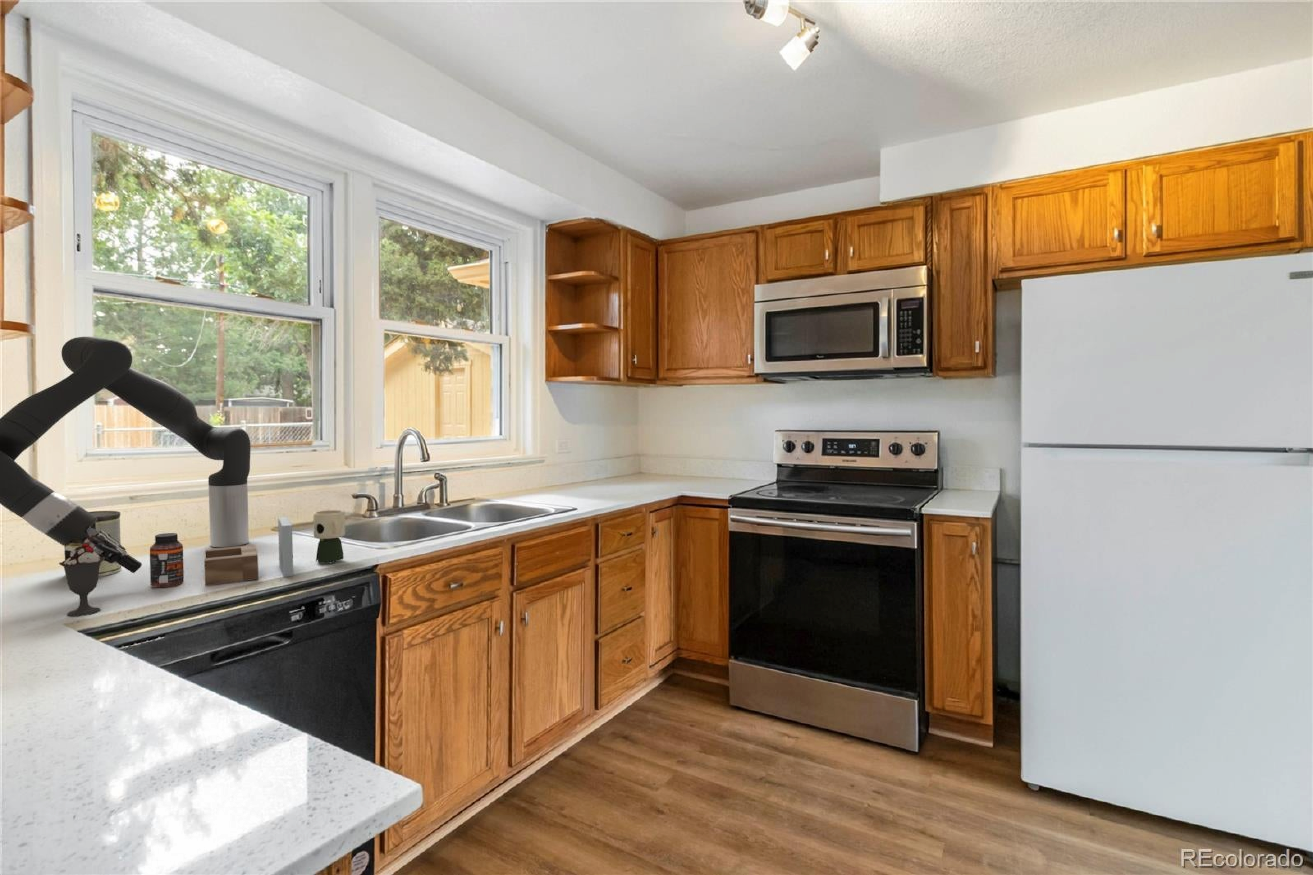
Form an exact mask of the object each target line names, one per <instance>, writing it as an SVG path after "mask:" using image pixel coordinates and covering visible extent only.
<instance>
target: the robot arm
mask: <svg viewBox="0 0 1313 875" xmlns="http://www.w3.org/2000/svg"><path fill="white" fill-rule="evenodd" d="M61 359H62V361H63V363H64V365H65V367H67V368H68V369H69V371H71V372H72V373H71V374H70V375H69V376H67V377H65V378H63V379H61V380H60V381H58V382H56V383H55V384H53V385H51V386H49V387H46V388H45V389H43V390H40V391H38V392H36V393H34V394H32V395H30V396H28V397H26V398H25V399H23V400H21V401H20V402H18V403H17V404H16V405H14V406H13V407H12V408H10V409H9V410H8V411H7V412H6V413H5V414H4V415H2V416H1V417H0V505H1V506H3V507H4V508H5V509H7V510H8V511H10V513H14V514H15V515H16V516H17V517H20V518H22V520H24V521H26V522H27V524H29V525H30V526H31V527H33V528H34V529H36V530H38V531H40V532H41V533H43V534H44V535H45V536H47V537H48V538H50V539H51V540H53V541H54V542H57V543H58V544H59V545H62V546H63V547H64V546H68V545H69V544H70V543H72V542H73V541H74V540H76V541H78V542H79V543H80V544H84V543H86V542H87V540H88V539H89V538H90V537H91V535H94V536H95V537H94V538H93V537H91V538H92V539H91V538H90V539H91V540H90V539H89V540H90V542H89V540H88V542H89V545H90V546H91V547H93V548H94V550H93V551H94V552H96V553H97V554H98V555H99V557H105V559H104V561H107V562H109V563H116V564H117V563H118V564H119V565H121V568H124V569H125V570H127V571H129V572H130V573H136V572H137V571H138V570H140V568H142V566H143V564H142V562H140V561H139V560H138V559H136V558H134V557H133V556H131V555H130V554H128V551H127V549H126V548H125V546H123V545H122V544H121V545H120V544H119V543H118V542H117V541H116V540H115V539H114V538H113V537H112V536H110V534H107V533H105V532H103V531H102V530H100V531H97V530H95V529H93V528H91V525H92V524H94V523H95V522H96V521H97V517H95V516H94V515H92V514H91V513H89V512H90V511H88V510H86V509H84V508H83V507H82V506H80V505H78V504H77V503H76V502H74V501H73V500H71V499H70V498H68V497H66V496H64V495H62V494H60V493H58V492H57V491H55V490H53V489H51V487H48V486H47V485H45V484H44V483H42V482H41V481H40V480H38V479H35V478H34V477H33V476H31V475H30V474H29V473H28V472H27V471H26V470H25V469H24V468H23V467H22V466H21V465H20V464H18V463H17V462H16V460H17V459H18V457H19V456H20V455H21V454H22V453H23V452H25V451H26V450H27V449H28V448H30V447H31V446H32V445H34V444H35V443H36V442H37V441H38V440H40V439H41V437H42V436H43V435H45V434H46V433H47V432H48V431H49V430H50V429H51V428H52V427H53V426H54V425H56V424H57V423H58V422H59V421H60V420H61V419H63V418H64V417H65V416H66V415H68V414H69V413H71V411H73V410H74V409H76V408H77V407H78V406H80V405H81V404H83V403H84V402H86V401H87V400H89V399H90V398H92V397H93V396H94V395H96V394H97V393H99V392H100V391H101V390H103V389H104V390H107V391H109V393H112V394H114V395H115V396H116V397H118V398H119V399H120V400H122V401H124V403H127V405H130V406H131V407H133V408H135V409H136V410H137V411H139V412H140V413H142V415H145V416H146V417H147V418H149V419H151V420H152V421H153V422H155V423H157V424H159V425H160V426H161V427H164V428H165V429H167V430H168V431H170V432H172V433H173V434H175V435H176V436H178V437H179V438H182V440H184V441H186V442H187V443H188V444H189V445H191V447H193V449H195V450H196V451H198V452H199V453H200V454H202V455H203V456H204V457H205V458H208V459H210V460H212V461H213V460H214V461H222V468H221V469H220V470H218V471H217V472H214V473H211V474H209V476H208V479H207V480H208V481H207V482H208V505H209V508H208V510H209V514H208V516H209V545H210V547H213V548H226V547H236V546H244V545H246V544H247V545H248V544H249V542H250V541H249V540H250V537H249V536H250V535H249V531H250V530H249V529H250V528H249V498H248V497H249V496H248V478H249V474H250V471H251V468H250V467H251V440H250V439H251V438H250V436H249V434H248V432H247V431H246V430H244V429H242V428H239V427H238V428H237V427H217V426H213V425H211V424H209V423H207V422H206V421H205V420H202V419H201V418H200V417H199V416H198V413H197V408H196V406H195V403H193V401H192V400H191V399H190V398H189V397H188V396H186V395H185V394H184V393H182V392H181V391H179V390H178V389H176V388H175V387H174V386H172V385H171V384H168V383H166V382H165V381H162V380H160V379H158V378H156V377H153V376H150V375H148V374H145V373H143V372H141V371H138V370H136V369H134V368H132V364H133V354H132V351H131V349H130V348H129V347H128V345H126V344H125V343H123V342H122V341H120V340H119V341H118V340H116V339H112V338H111V339H110V338H105V337H104V338H103V337H95V336H77V337H74V338H71V339H69V340H67V341H66V342H65V343H64V344H63V346H62V348H61ZM88 542H87V543H88Z"/></svg>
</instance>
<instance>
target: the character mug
mask: <svg viewBox="0 0 1313 875" xmlns="http://www.w3.org/2000/svg"><path fill="white" fill-rule="evenodd" d="M345 534H346V513H345V510H342V509H329V510H328V509H326V510H325V509H324V510H318V511H314V512H313V538H314V539H319V541H318V543H317V551H316V558H315V562H317V563H319V564H334V562H337V561H341V560H344V558H345V556H344V551H343V543H342V540H341V537H344V536H345Z"/></svg>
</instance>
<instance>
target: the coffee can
mask: <svg viewBox="0 0 1313 875" xmlns="http://www.w3.org/2000/svg"><path fill="white" fill-rule="evenodd" d="M88 512H89V513H91V514H92V515H94V516H95V517H97V521H96V522H95V523H94V524H92V525H91V528H93V529H95V530H97V531H100V530H102V531H103V532H105V533H107V534H110V536H112V537H113V538H114V539H115V540H116V541H117V542H118V543H119V544H120V545H121V546H122V543H121V542H122V541H121V512H120V511H117V510H95V511H88ZM80 546H82V544H80V543H79V542H78V541H76V540H74V541H73V542H72V543H70V544H69V545H68V546H63V547H64V551H65V550H68V551H72V550H74V549H75V548H77V547H80ZM122 570H123V567H122V566H121V565H119V564H118V563H117V564H116V563H109V562H107V561H104V560H103V561H102V562H101V564H100V568H99V576H98V578H100V577H106V575H107V576H111V575H114V573H115V574H117V573H119V572H121V571H122ZM64 573H65V572H64ZM110 574H111V575H110ZM64 578H66V573H65V575H64Z"/></svg>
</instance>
